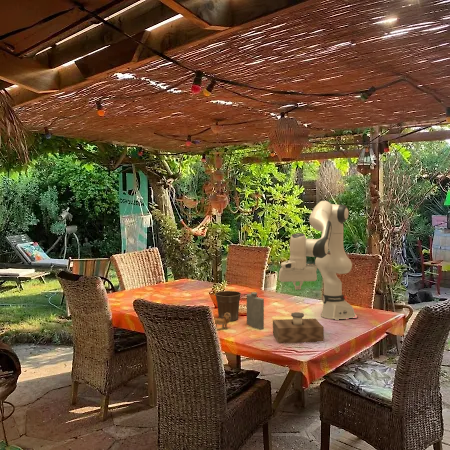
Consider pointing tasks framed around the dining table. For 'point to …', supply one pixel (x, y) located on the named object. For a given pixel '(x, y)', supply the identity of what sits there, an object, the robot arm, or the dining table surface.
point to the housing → (298, 331)
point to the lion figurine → (223, 320)
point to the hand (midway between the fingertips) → (297, 289)
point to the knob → (297, 318)
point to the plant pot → (228, 303)
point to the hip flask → (255, 311)
